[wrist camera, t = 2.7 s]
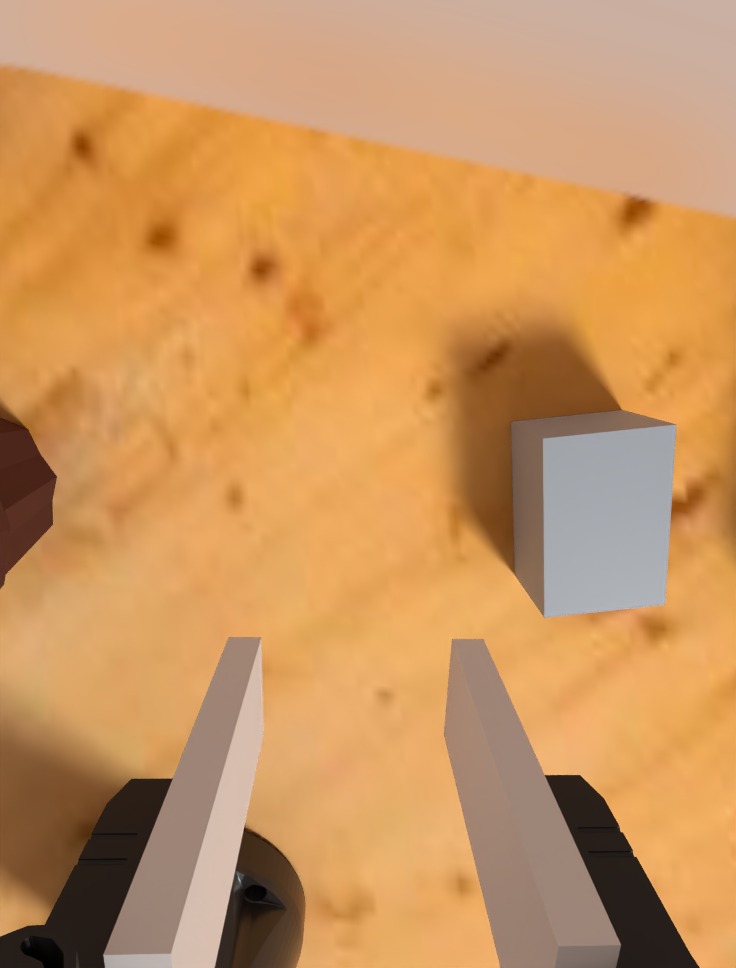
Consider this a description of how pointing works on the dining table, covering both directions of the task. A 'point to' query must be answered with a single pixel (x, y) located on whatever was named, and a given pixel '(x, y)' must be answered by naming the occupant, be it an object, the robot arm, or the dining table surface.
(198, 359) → the dining table surface
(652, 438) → the slate block
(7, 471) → the muffin
